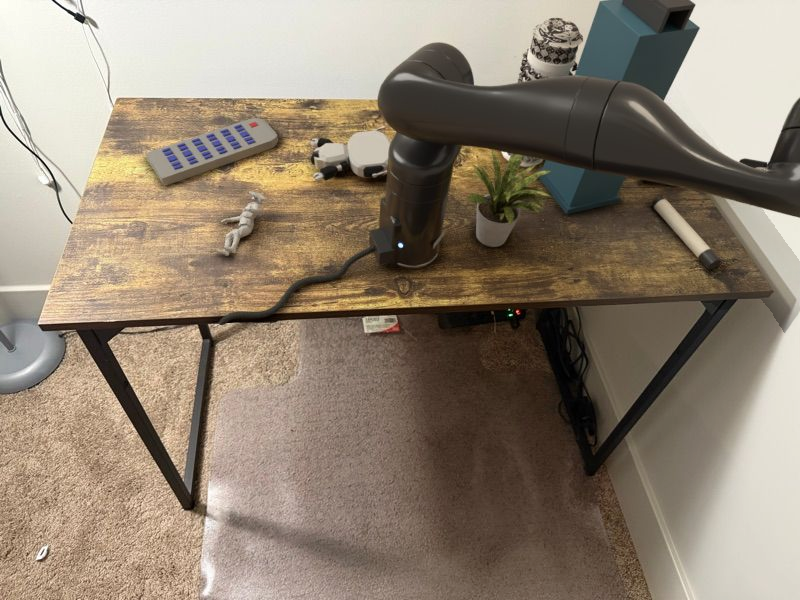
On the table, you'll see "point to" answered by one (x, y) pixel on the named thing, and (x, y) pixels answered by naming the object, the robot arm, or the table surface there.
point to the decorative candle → (549, 58)
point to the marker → (686, 233)
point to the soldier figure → (242, 224)
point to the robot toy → (352, 155)
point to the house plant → (503, 200)
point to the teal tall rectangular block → (624, 79)
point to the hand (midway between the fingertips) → (724, 168)
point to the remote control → (211, 150)
